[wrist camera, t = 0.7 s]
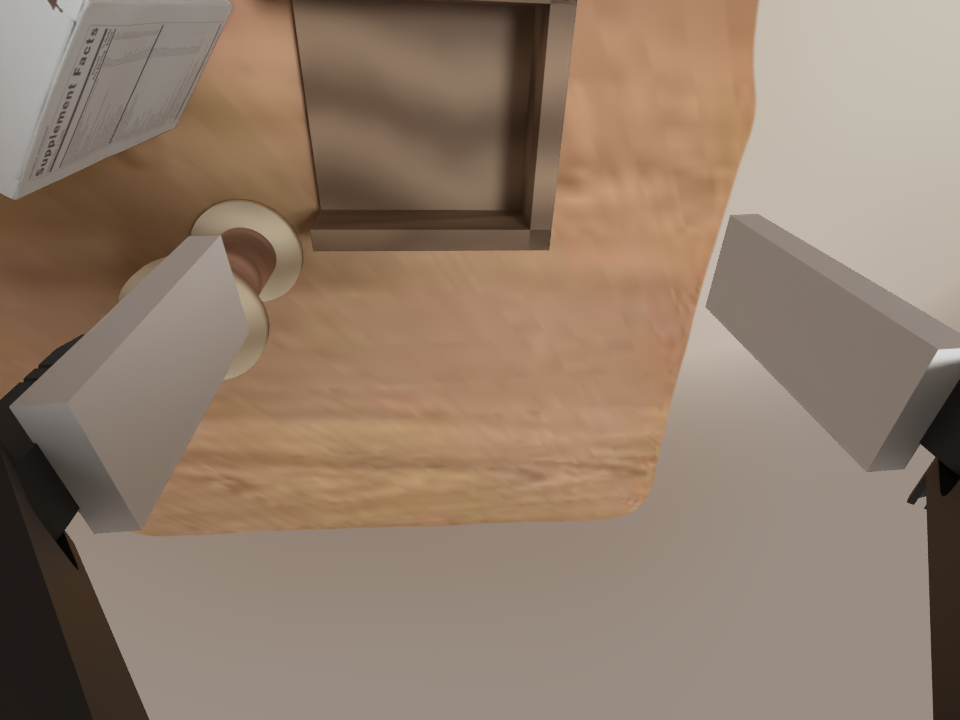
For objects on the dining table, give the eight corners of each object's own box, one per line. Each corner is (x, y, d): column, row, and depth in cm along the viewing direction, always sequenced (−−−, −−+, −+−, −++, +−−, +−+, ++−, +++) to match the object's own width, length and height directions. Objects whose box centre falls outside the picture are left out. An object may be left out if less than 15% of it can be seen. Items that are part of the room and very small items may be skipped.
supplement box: (75, -129, 28) (-275, -283, 14) (238, 3, 32) (94, -11, 18) (21, 32, 31) (-300, 41, 17) (174, 134, 35) (12, 208, 21)
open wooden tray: (289, -35, 31) (268, -45, 26) (558, -22, 32) (580, -29, 28) (325, 225, 40) (313, 251, 35) (535, 225, 41) (549, 250, 37)
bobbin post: (181, 198, 37) (95, 262, 27) (294, 199, 38) (249, 261, 28) (209, 297, 42) (143, 383, 32) (310, 296, 43) (276, 379, 33)
